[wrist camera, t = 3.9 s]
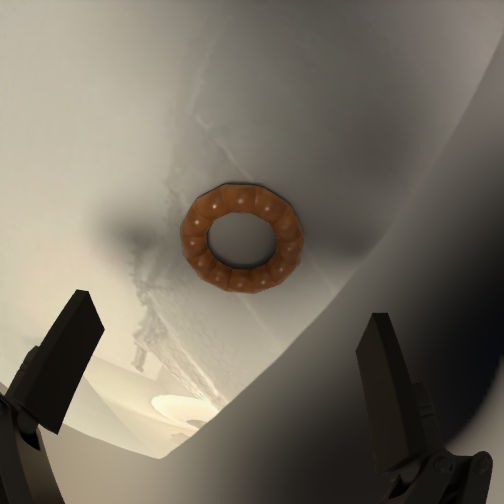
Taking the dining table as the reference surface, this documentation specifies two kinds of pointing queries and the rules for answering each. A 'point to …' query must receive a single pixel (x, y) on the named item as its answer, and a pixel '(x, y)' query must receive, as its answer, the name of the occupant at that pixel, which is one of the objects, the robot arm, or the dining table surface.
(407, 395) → the robot arm
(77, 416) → the dining table surface
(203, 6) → the dining table surface
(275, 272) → the bracelet
